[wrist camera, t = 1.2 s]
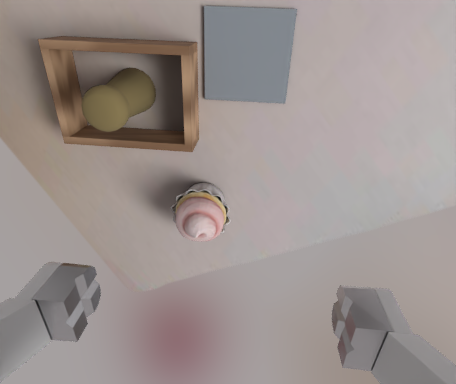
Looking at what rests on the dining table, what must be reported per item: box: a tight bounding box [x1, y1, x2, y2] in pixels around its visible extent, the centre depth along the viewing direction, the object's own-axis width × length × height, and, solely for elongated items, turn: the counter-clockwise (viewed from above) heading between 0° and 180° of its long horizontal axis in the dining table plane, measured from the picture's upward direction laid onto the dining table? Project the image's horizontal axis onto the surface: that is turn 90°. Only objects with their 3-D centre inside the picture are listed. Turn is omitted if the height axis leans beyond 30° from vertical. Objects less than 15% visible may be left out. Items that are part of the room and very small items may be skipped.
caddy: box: [38, 36, 199, 152], centre depth 41 cm, size 13×18×5 cm
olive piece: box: [81, 68, 156, 132], centre depth 38 cm, size 6×6×11 cm
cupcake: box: [170, 183, 231, 241], centre depth 47 cm, size 9×9×10 cm
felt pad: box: [204, 6, 297, 104], centre depth 39 cm, size 11×11×1 cm
